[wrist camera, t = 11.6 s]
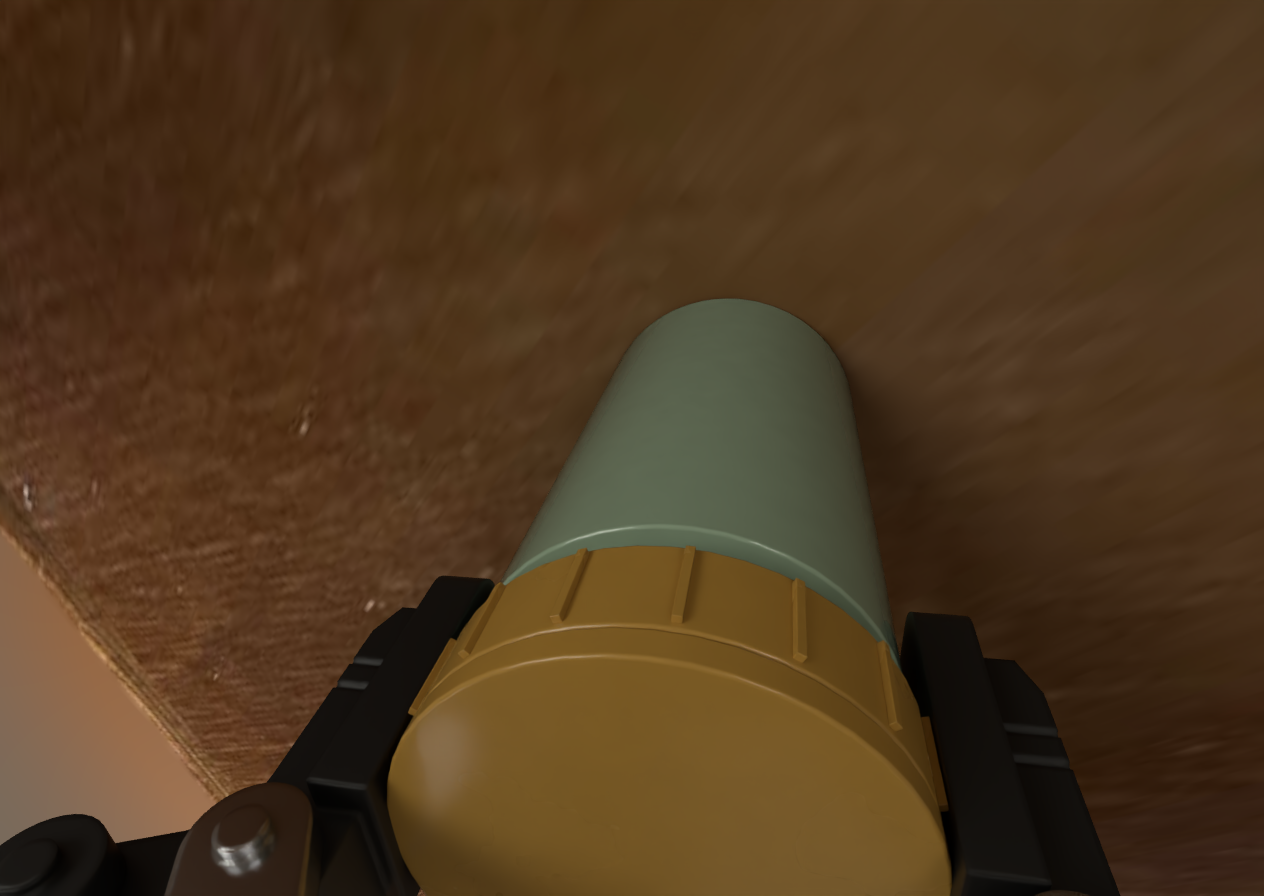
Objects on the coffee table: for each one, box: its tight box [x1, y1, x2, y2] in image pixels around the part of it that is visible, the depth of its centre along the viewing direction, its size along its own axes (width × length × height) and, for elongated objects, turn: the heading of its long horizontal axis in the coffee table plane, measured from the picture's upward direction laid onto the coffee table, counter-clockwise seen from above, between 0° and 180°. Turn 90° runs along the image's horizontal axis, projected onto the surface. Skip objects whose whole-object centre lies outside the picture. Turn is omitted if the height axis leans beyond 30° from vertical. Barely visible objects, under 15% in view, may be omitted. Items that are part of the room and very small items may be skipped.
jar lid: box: [387, 545, 953, 896], centre depth 8 cm, size 6×6×2 cm
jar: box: [500, 299, 903, 674], centre depth 13 cm, size 6×6×10 cm
